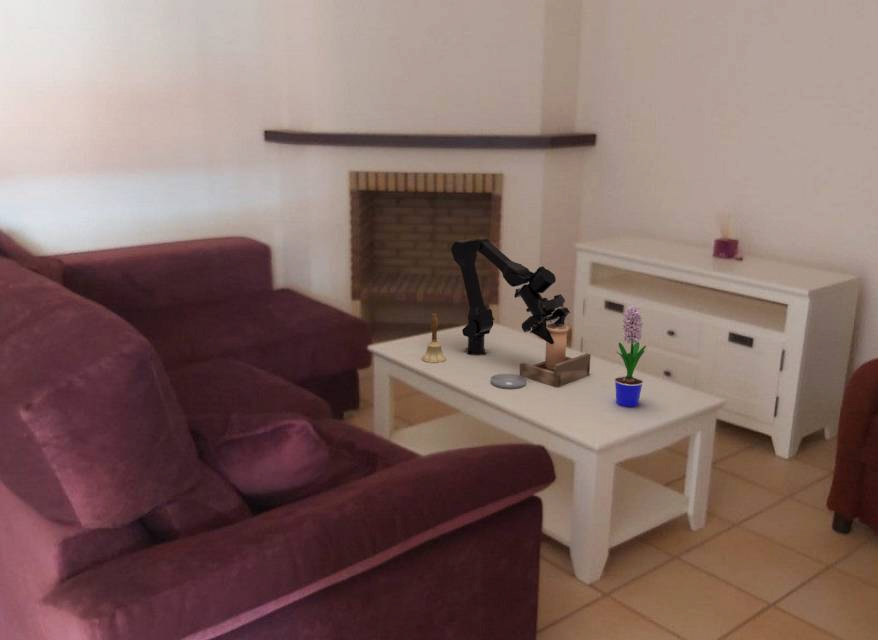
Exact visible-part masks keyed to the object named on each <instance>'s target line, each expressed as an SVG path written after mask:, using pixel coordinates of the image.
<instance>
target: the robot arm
mask: <svg viewBox="0 0 878 640" xmlns="http://www.w3.org/2000/svg"><path fill="white" fill-rule="evenodd" d="M450 249H451V250H450V252H451V254H452V258H453V260H454V261H455V263H456V264H457V265H458V266H459V268H460V270H461V275H462V279H463V283H464V288H465V291H466V292H465V293H466V297H467V301H468V305H469V311H468V315H467V322H468V323H467V324H466V325H465V326H464V327H463V328H462V329H461V331H462V335H463V336H464V337H467V347H465V349H466V350H465V351H466V354H467V355H486V354H487V352H486V348H485V338H486V337H485V336H486V335H489V334H490V332H491V329H492V328H493V327H494V321H495V318H494V316H493V315H494V314H493V310H492V308H487V307H486V305H485V303H484V298H483V294H482V289H481V286H480V282H479V276H478V274H477V268H476V261H477V257H478V253H479V254H481V255H482V256H483V257H484V258H486V259H487V261H488V262H490V263H491V264H493V266H495V267H496V268H497V269H498V270H499V271H500V273H501V274H502V278H503V280H505V282H506V283H507V284H508V285H509V287H518V288H515V292H514V295H513V297H514V298H515V299H517V298H521V299H522V302H523V303H524V304H525V305H526V313H531V315H530V316H529V317H527V319H526V320H524V321H523V322H522V323H521V329H522V331H523V332H524V333H530V334H533V335H535V336H537V337H539V338H540V339H542V340H544V341H545V342H546V341H547V342H548V343H550V344H554V341H553V338H552V337H551V335H550V333H549V331H548V329H547V327H546V325H547V322H550V324H563V325H566V324H565V320H566V318H567V317H568V315H569V314H570V313H571V312H570V310H569V309H568V307H566V306H564V304H565V302H566V299H565V298H564V296H563V295H562V294H559V293H558V294H556V295H554V296H553V298H552V299H548V297H543V296H542V295H541V294H544V293H545V292H546V291H547V290H548V289H549V288H550V287H551V286H552V285H554V284H555V283H556V280H557V279H556V275H555V274H554V273H553V272H552V271H551V270H550V269H547V268H545V266H544V265H542V266H539V267H538V268H537V269H536V270H535V271H534V272H533V271H531V270H530V269H529V268H527V267H526V266H524V265H523V264H520V263H518V262H515V261H513V260H511V259H510V258H509V257H508V256H507V255H505V254H504V252H502V251H501V250H499V248H497V247H496V246H495V245H494V244H493V243H491V242H490V240H489V238H486V237H481V238H476V239H474V240H472V239H463V240H458V241H455V242H453V243H452V246H451V247H450ZM477 252H478V253H477ZM519 286H521V287H520V288H519ZM568 339H569V338H568V336H567V340H568Z"/></svg>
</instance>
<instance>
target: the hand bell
mask: <svg viewBox="0 0 878 640" xmlns="http://www.w3.org/2000/svg"><path fill="white" fill-rule="evenodd" d="M430 329H431V342H429V343H427V348H426V350H425V351H426V352H425V353H424V355H422V358H421V360H422V361H423V362H425V363H428V362H430V364H440V363H439V362H441V363H445V362H446V361H447V357H446V356H445V355H444V353H443V350H442V345H441V343H440V342H438V336H437V335H438V334H437V332H438V329H439V319H438V316H437V313H432V316H431V318H430Z"/></svg>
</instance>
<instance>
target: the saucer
mask: <svg viewBox="0 0 878 640" xmlns="http://www.w3.org/2000/svg"><path fill="white" fill-rule="evenodd" d="M490 384H491V386H493V387H496V388H498V389H504V390H517V389H522V388H524V387H526V386H527V378H526V377H523V376H520V374H515V373H499V374H495V375H493V376H491V378H490Z"/></svg>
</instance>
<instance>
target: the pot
mask: <svg viewBox="0 0 878 640" xmlns="http://www.w3.org/2000/svg"><path fill="white" fill-rule="evenodd" d="M546 327H547V329H548V331H549V333H550V335H551V337H552V338H553V341H554V344H550V343H548V342H547V341H545V357H544V361H545V366H546V367H547V368H546V369H552V370H554V367H555V364H558V363H561V362H564V361H565V359H566V357H567V356H566V355H567V340H568V339H567V337H568V332H569V330H570V329H569V328H570V327H569V326H568V325H566V324H565V325H563V324H553V323H548V324H546Z"/></svg>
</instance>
